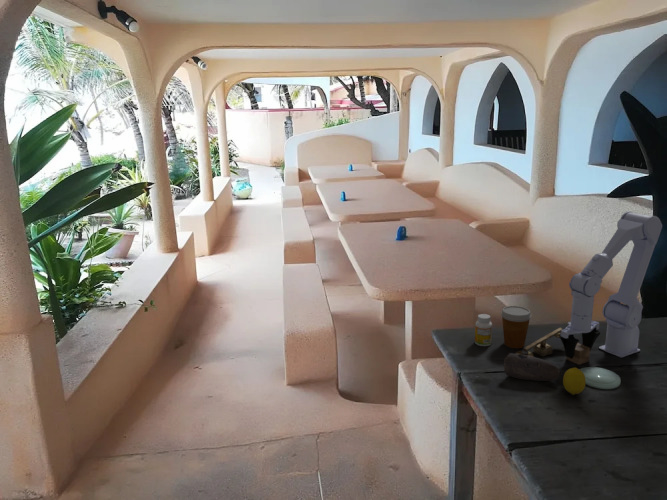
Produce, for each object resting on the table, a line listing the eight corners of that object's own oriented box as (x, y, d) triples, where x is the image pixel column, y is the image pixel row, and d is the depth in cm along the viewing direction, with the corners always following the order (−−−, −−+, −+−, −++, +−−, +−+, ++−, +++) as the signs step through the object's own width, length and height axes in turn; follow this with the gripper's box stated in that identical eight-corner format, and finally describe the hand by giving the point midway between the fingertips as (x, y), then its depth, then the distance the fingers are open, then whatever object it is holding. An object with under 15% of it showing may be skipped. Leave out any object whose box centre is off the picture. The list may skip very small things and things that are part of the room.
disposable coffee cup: (493, 344, 174) (495, 310, 170) (508, 335, 180) (510, 303, 177) (520, 353, 167) (522, 318, 164) (534, 344, 173) (537, 310, 170)
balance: (558, 342, 173) (560, 324, 172) (571, 348, 169) (573, 329, 167) (512, 357, 164) (513, 337, 163) (524, 363, 160) (526, 343, 158)
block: (576, 355, 164) (577, 342, 163) (588, 361, 160) (590, 348, 159) (566, 359, 162) (567, 345, 161) (578, 365, 158) (579, 351, 157)
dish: (594, 366, 157) (594, 363, 156) (629, 382, 147) (629, 378, 147) (568, 376, 152) (569, 372, 151) (603, 392, 142) (603, 389, 142)
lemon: (578, 388, 145) (580, 362, 143) (588, 399, 139) (590, 372, 137) (558, 389, 145) (560, 363, 143) (567, 400, 139) (570, 373, 137)
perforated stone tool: (558, 378, 151) (560, 356, 149) (558, 387, 146) (560, 364, 144) (504, 371, 156) (505, 349, 154) (502, 379, 152) (503, 357, 150)
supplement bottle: (478, 338, 179) (479, 311, 176) (493, 342, 175) (495, 314, 173) (472, 344, 174) (473, 317, 172) (488, 348, 171) (489, 320, 169)
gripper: (586, 304, 164) (582, 344, 167) (553, 313, 157) (550, 354, 161) (607, 311, 158) (602, 352, 161) (573, 321, 151) (569, 363, 155)
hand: (577, 354), depth 161 cm, fingers open, 7 cm apart
